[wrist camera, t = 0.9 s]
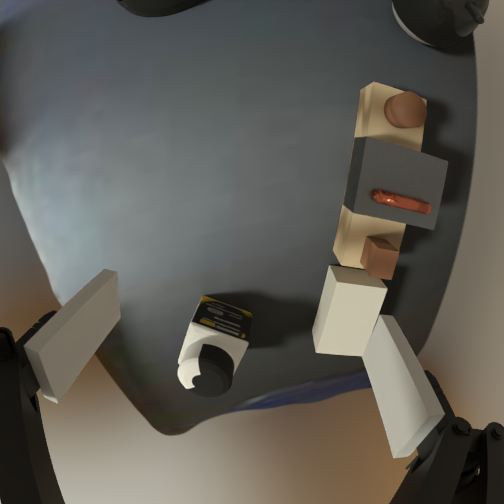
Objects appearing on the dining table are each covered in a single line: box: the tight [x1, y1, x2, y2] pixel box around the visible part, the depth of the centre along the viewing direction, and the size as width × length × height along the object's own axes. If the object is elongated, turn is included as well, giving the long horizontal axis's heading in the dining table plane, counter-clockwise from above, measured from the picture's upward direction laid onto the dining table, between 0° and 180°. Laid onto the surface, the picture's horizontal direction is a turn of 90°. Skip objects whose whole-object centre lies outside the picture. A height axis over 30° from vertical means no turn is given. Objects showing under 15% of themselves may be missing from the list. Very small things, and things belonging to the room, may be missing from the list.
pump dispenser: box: [392, 0, 489, 48], centre depth 18 cm, size 10×10×15 cm
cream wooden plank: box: [333, 82, 427, 280], centre depth 28 cm, size 20×6×9 cm, turn 172°
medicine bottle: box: [178, 296, 252, 397], centre depth 35 cm, size 7×7×12 cm
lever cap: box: [343, 136, 448, 230], centre depth 26 cm, size 7×9×5 cm
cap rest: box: [312, 265, 387, 356], centre depth 36 cm, size 10×6×5 cm, turn 172°
